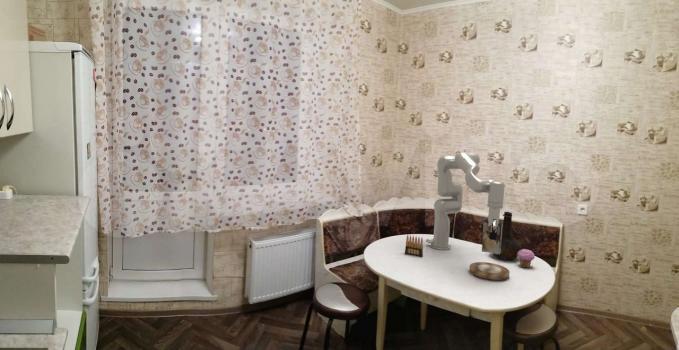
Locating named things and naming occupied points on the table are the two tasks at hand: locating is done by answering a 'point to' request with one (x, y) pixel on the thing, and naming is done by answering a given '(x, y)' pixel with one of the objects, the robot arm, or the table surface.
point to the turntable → (489, 270)
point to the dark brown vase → (508, 240)
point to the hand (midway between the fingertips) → (492, 237)
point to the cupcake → (525, 257)
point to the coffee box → (488, 244)
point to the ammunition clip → (414, 247)
